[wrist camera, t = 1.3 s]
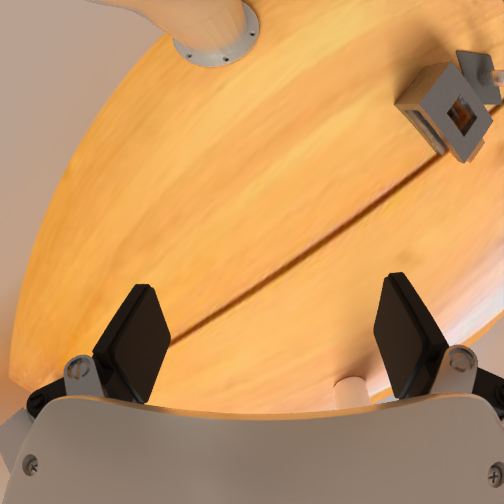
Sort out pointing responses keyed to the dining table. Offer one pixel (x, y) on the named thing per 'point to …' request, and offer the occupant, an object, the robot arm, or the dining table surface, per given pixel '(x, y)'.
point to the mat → (469, 69)
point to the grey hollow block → (439, 103)
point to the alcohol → (351, 393)
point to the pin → (491, 78)
